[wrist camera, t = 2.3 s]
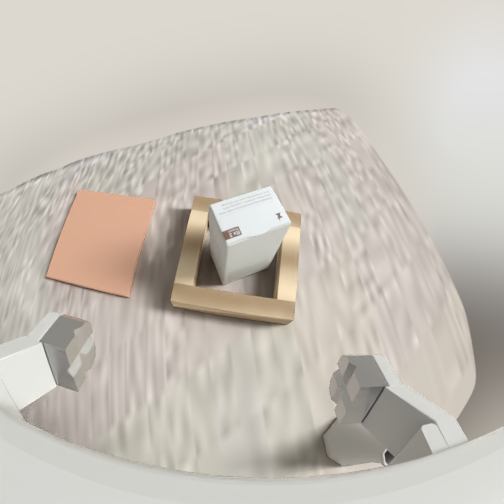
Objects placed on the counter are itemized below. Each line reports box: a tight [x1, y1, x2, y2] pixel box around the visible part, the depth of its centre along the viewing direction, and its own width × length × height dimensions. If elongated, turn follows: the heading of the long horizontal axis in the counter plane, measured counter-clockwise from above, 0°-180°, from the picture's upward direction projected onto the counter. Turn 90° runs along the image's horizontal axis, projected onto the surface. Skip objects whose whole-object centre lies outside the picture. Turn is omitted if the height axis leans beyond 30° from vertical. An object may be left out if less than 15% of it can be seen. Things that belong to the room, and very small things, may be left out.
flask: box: [323, 419, 394, 467], centre depth 24 cm, size 7×7×10 cm
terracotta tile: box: [46, 190, 156, 298], centre depth 34 cm, size 13×12×1 cm
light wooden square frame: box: [170, 196, 301, 325], centre depth 34 cm, size 13×13×3 cm
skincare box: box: [209, 186, 291, 285], centre depth 30 cm, size 6×4×12 cm
